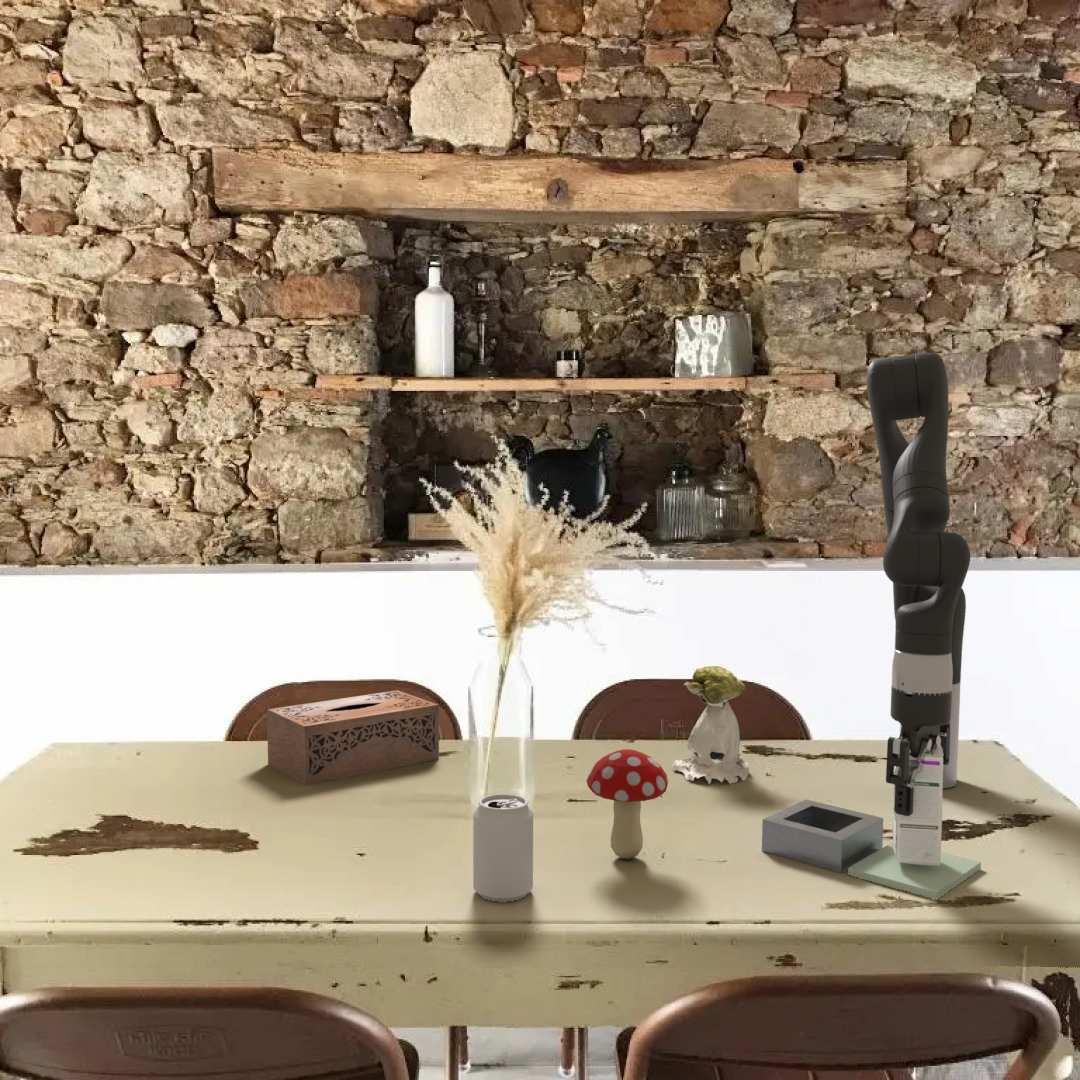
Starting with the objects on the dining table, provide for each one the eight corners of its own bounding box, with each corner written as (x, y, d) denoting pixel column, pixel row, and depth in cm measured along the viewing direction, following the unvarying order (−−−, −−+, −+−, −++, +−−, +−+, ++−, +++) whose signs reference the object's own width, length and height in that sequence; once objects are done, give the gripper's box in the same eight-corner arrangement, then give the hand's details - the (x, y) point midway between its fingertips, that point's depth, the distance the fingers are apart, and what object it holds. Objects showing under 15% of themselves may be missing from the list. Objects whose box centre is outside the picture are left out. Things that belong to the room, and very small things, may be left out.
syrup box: (941, 866, 150) (946, 756, 149) (893, 862, 152) (898, 753, 150) (936, 851, 156) (940, 745, 155) (890, 847, 157) (894, 742, 156)
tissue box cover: (397, 742, 217) (397, 690, 217) (438, 760, 206) (438, 704, 205) (268, 766, 202) (267, 709, 201) (305, 786, 190) (304, 726, 190)
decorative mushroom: (608, 878, 151) (609, 765, 150) (572, 850, 161) (573, 744, 160) (682, 866, 156) (684, 756, 154) (642, 839, 166) (644, 736, 164)
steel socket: (805, 829, 170) (806, 799, 170) (882, 849, 162) (883, 818, 162) (761, 851, 161) (762, 819, 161) (840, 873, 153) (841, 840, 153)
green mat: (895, 847, 163) (895, 840, 163) (980, 869, 155) (981, 862, 155) (847, 875, 153) (848, 867, 153) (936, 900, 145) (936, 892, 145)
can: (472, 882, 150) (472, 791, 149) (530, 880, 150) (531, 790, 149) (474, 906, 142) (474, 810, 141) (535, 904, 143) (535, 808, 142)
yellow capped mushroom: (727, 760, 206) (729, 657, 204) (762, 781, 194) (765, 672, 192) (664, 765, 202) (666, 661, 201) (696, 787, 190) (698, 676, 188)
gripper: (917, 672, 159) (913, 788, 161) (869, 689, 149) (865, 813, 150) (971, 680, 154) (967, 800, 156) (925, 698, 144) (921, 827, 145)
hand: (917, 806), depth 153 cm, fingers closed on syrup box, 7 cm apart
